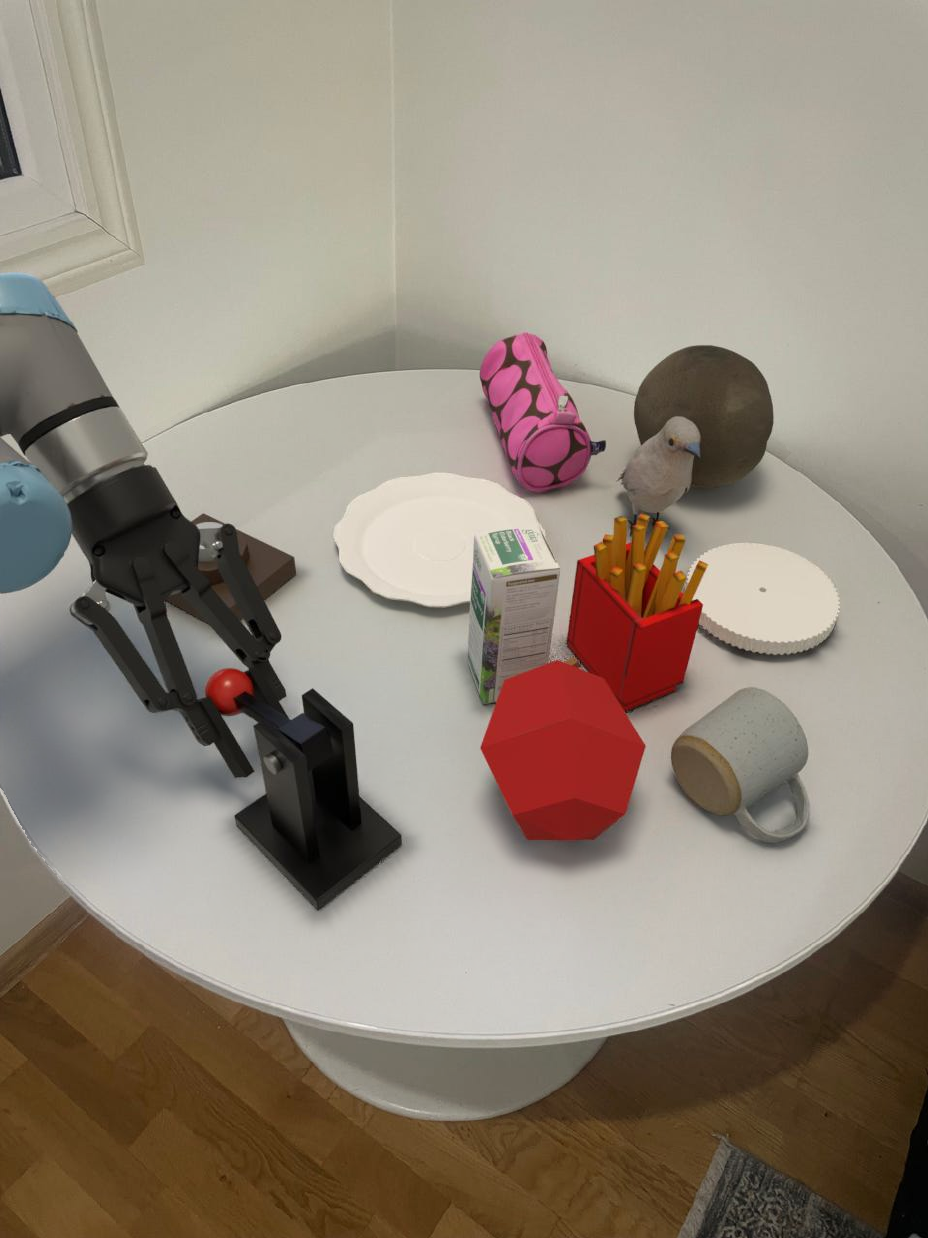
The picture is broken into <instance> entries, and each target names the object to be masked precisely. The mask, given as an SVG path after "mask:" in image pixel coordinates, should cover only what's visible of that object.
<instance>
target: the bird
mask: <svg viewBox="0 0 928 1238" xmlns="http://www.w3.org/2000/svg"><path fill="white" fill-rule="evenodd" d="M700 438H701V437H700V433H699V430H698V428H697V427H696V425H695V424H694V423H693V422H692V421H690V420H688V419H686V418H685V417H680V416H675V417H673V418H671V419H670V420H668V422H667V423H666V424H665V426H664V427H663V428H662V430H661V431H660V432H659V433H658V434H657V435H655V436H653V437H652V438H650V439H648V440H647V441H646V442H645V443H644V444H643V445H642V446H641V445H640V447H638V449H637V450H636V452H635V454H634V456H633V458H632V460H630V461H629V462H628V463H627V464H626V466H625V469H624V470H622V472H621V474H619V477H617V480H616V481H615V482H619V481H621V483H620V485H622V487H623V488H624V490H626V493H627V496H628V498H629V500H630V502H631V504H632V514H633V521H632V520H629V519H627V522H629V525H630V526H629V530H630V531H629V538H632V526H634V525H636V524H637V520H638V512H639V510H642V511H644V512H646V513H650V514H656V516H655V517H654V516H651V515H649V516H650V518H651V520H652V523H651V524H652V529H653V528H654V526H655V523H656V522H659V519H660V513H661V512H663V511H665V510H667V509H668V508H670V507H671V506H673V505H674V504H675V503H676V502H677V501H678V500H680V498H682V496H683V495H684V494H685V493H688V492H689V490H690V488H691V486H692V485H691V478H692V476H691V475H692V466H693V459H694V456H696V457H697V458H699V459H700V447H699V444H700ZM667 530H670V527H668V529H667ZM645 534H648V532H647V531H646V533H645Z"/></svg>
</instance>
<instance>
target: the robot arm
mask: <svg viewBox="0 0 928 1238" xmlns="http://www.w3.org/2000/svg"><path fill="white" fill-rule="evenodd" d="M78 333H79V332H78V329H77V327H76V326H75V324H74V323H73V322H72V321H71V319H70V318H69V316H68V315H67V314H66V312H65V310H64V308H62V306H61V304H60V303H59V301H58V300H57V298H56V297H55V296H54V295H53V293H52V292H51V291H50V289H49V288H48V287H47V285H46V284H45V283H44V282H43V281H42V280H41V279H40V278H39V277H36V276H34V275H33V274H29V273H25V272H19V271H18V272H17V271H16V272H15V271H13V272H12V271H11V272H3V273H0V594H1V595H2V594H11V593H14V592H19V591H22V590H25V589H27V588H30V587H32V586H34V585H36V584H38V583H39V582H40V581H42V580H43V579H44V578H46V577H48V576H49V575H50V574H51V573H52V572H53V571H54V569H55V568H56V567H58V565H59V563H60V561H61V559H63V558H64V555H65V552H66V551H67V550H68V547H69V546H70V543H71V539H72V537H73V538H74V541H76V543H77V545H78V547H79V548H80V550H81V551H82V553H83V555H84V557H85V558H86V560H87V561H88V564H89V568H90V580H91V581H92V583H91V584H90V586H89V587H88V588H87V589H86V590H85V591H84V593H83V594H82V595H81V596H79V597H78V598H77V599H76V600H75V601H74V602H72V603H71V604H70V607H69V613H70V615H71V617H72V618H74V619H75V620H77V622H79V623H81V624H82V625H83V626H85V627H86V628H88V629H89V630H91V631H92V632H93V633H94V635H95V636H96V638H97V640H99V642H100V643H101V645H102V647H103V648H104V649H105V651H106V652H107V654H108V655H109V656H110V658H111V660H112V661H113V662H114V664H115V665H116V667H117V668H118V669H119V671H120V673H121V674H122V675H123V677H124V678H125V680H126V681H127V683H128V684H129V685H130V687H131V688H132V690H133V691H134V693H135V694H136V696H137V697H138V699H139V700H140V701H141V703H142V704H143V705H144V707H145V709H146V710H147V711H148V712H149V713H151V714H158V713H163V712H168V711H176V712H178V713H180V715H181V716H182V718H183V720H184V722H185V723H186V724H187V726H188V728H189V730H190V731H191V733H192V735H193V736H194V738H195V740H196V742H197V743H198V744H200V745H201V746H203V747H209V746H211V745H215V747H216V749H217V751H218V752H219V754H220V755H221V757H222V759H223V761H224V762H225V764H226V766H227V767H228V769H229V770H230V772H231V774H232V776H233V777H234V779H241V778H248V777H249V776H251V775H252V774H254V773H255V772H256V771H255V768H254V767H253V765H252V764H251V762H250V761H249V759H248V757H247V756H246V754H245V752H244V751H243V749H242V747H241V745H240V744H239V742H238V740H237V739H236V737H235V736H234V734H233V732H232V730H231V729H230V727H229V725H228V724H227V722H226V720H225V719H224V716H222V715H221V714H220V712H219V710H218V709H217V707H216V705H215V704H214V702H213V700H212V699H211V697H210V696H207V697H205V696H204V697H202V698H198V693H197V691H196V689H195V686H194V683H193V680H192V678H191V675H190V672H189V669H188V668H187V665H186V662H185V659H184V656H183V654H182V652H181V648H180V647H179V643H178V641H177V638H176V635H175V633H174V630H173V627H172V625H171V622H170V620H169V617H168V610H167V609H168V608H167V605H166V603H165V599H166V598H167V597H168V596H170V595H174V594H178V593H180V594H181V596H182V597H183V598H184V599H185V600H186V601H188V602H190V603H191V604H192V605H193V606H194V608H195V609H196V610H197V611H198V612H199V613H200V614H201V616H202V617H203V618H204V619H205V620H206V621H207V623H206V624H208V625H209V626H210V627H211V629H212V630H213V631H214V632H215V634H216V635H217V636H218V637H219V638H220V639H221V640H222V641H223V643H224V644H225V645H226V646H227V647H228V648H229V650H230V651H231V652H232V653H233V655H235V656H236V658H237V659H238V660H239V661H240V662H241V664H243V665H244V666H245V667H247V670H245V671H243V672H244V673H245V674H246V675H247V676H248V677H249V678H250V680H251V681H252V684H253V687H254V697H255V698H257V699H259V700H260V701H262V702H263V703H265V704H266V705H268V706H270V707H271V708H273V709H274V710H276V711H277V712H279V713H281V714H282V715H284V716H285V717H287V718H289V719H290V717H289V716H288V715H287V712H286V710H285V709H284V707H283V706H282V703H281V702H280V701H282V700H283V699H285V698H286V697H287V690H286V688H285V686H284V685H283V683H282V681H281V679H280V678H279V676H278V674H277V672H276V671H275V670H274V667H273V666H272V664H271V662H270V657H271V652H272V650H274V648H275V646H276V645H278V644H279V643H280V642H281V640H282V633H281V631H280V628H279V627H278V625H277V623H276V621H275V619H274V618H273V615H272V613H271V612H270V609H269V607H268V606H267V604H266V601H265V600H264V599H263V597H262V596H261V594H260V592H259V590H258V588H257V586H256V584H255V582H254V580H253V578H252V576H251V574H250V572H249V570H248V568H247V566H246V564H245V562H244V560H243V559H242V557H241V555H240V553H239V547H238V540H237V533H236V529H237V528H236V526H234V525H233V524H231V523H225V524H224V525H223V526H222V527H220V528H206V529H198V527H197V526H196V525H195V524H194V523H193V522H191V521H192V520H189V518H187V517H186V516H185V515H184V514H183V513H182V511H181V509H180V507H179V505H178V503H177V501H176V499H175V497H174V496H173V494H172V493H171V491H170V489H169V487H168V485H167V484H166V482H165V480H164V479H163V477H162V475H161V474H160V472H159V470H158V469H157V467H155V466H152V464H151V465H150V464H145V463H146V461H147V459H148V456H149V455H148V454H149V452H148V451H147V449H146V448H145V445H144V444H143V443H142V441H141V440H140V438H139V436H138V435H137V433H136V431H135V430H134V428H133V426H132V425H131V423H130V422H129V420H128V418H127V417H126V414H125V413H124V411H123V410H122V408H121V407H120V406H119V404H118V402H117V400H116V399H115V397H114V395H113V394H112V392H111V390H110V389H109V387H108V385H107V384H106V381H105V379H104V378H103V376H102V374H101V373H100V371H99V369H98V367H97V365H96V363H95V362H94V360H93V359H92V356H91V355H90V353H89V351H88V350H87V347H86V346H85V344H84V342H83V341H82V339H81V337H80V335H79V334H78ZM7 435H10V436H11V437H12V439H13V440H14V441H15V443H16V444H17V445H18V447H19V450H20V451H21V452H22V455H21V454H20V452H18V451H17V450H15V449H14V447H12V446H11V445H10V444H9V443H8V442H6V440H5V439H3V438H2V437H4V436H7ZM200 545H202V546H203V547H204V548H205V549H206V552H207V554H208V555H210V556H211V557H214V558H215V562H216V565H217V567H218V569H219V572H220V573H221V575H222V577H223V579H224V581H225V583H226V585H227V587H228V589H229V591H230V593H231V595H232V597H233V599H234V601H235V603H236V604H237V606H238V608H239V610H240V612H241V614H242V616H243V618H242V619H243V620H244V622H245V624H246V626H247V627H248V628H247V627H246V626H245V625H244V624H243V622H242V621H241V620H239V619H238V618H237V617H236V616H235V614H234V613H233V612H232V611H231V610H230V609H229V607H228V606H227V605H226V604H225V603H224V601H223V600H222V599H221V598H220V597H219V596H218V594H217V593H216V592H215V591H214V590H213V588H212V587H211V584H210V582H209V580H208V579H207V578H206V577H205V576H204V574H203V573H202V572H201V571H200V570H199V568H198V561H199V549H200ZM106 593H108V594H110V595H112V596H114V597H116V598H118V599H120V600H123V601H125V602H127V603H129V604H131V605H133V607H134V611H135V612H136V615H137V618H138V621H139V622H140V623H141V625H142V626H143V630H144V631H145V635H146V637H147V640H148V642H149V645H150V647H151V650H152V653H153V655H154V659H155V660H156V663H157V666H158V669H159V672H160V674H161V676H162V679H163V682H164V684H165V688H166V690H167V691H166V690H165V689H164V687H163V686H162V684H161V683H160V681H159V680H158V678H157V677H156V676H155V674H154V672H153V671H152V670H151V668H150V667H149V665H148V664H147V662H146V660H145V659H144V658H143V656H142V655H141V654H140V652H139V651H138V649H137V647H136V646H135V644H134V643H133V642H132V640H131V639H130V638H129V636H128V634H127V633H126V632H125V630H124V628H123V627H122V625H121V624H120V623H119V621H118V620H117V619H116V618H115V616H113V615H112V613H111V612H110V610H111V603H110V601H109V600H108V599H107V597H106Z"/></svg>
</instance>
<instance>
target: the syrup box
mask: <svg viewBox="0 0 928 1238" xmlns="http://www.w3.org/2000/svg"><path fill="white" fill-rule="evenodd" d="M552 549H553V548H552V547H551V544H550V543H549V541H548V540H547V537H546V538H545V536H544V534H543V532H542V530H541V528H540V527H539V526H524V527H512V528H504V529H497V530H492V531H487V532H483V533H479V534H475V535H474V549H473V567H472V582H471V598H470V602H469V615H468V618H469V619H468V634H467V635H468V636H467V664H468V667H469V670H470V672H471V676H472V678H473V682H474V684H475V686H476V690H477V692H478V695H479V697H480V700H481V703H482V704H484V705H487V704H493V703H496V702H497V699H498V696H499V693H500V691H501V688H502V685H503V682H504V680H505V679H508V678H510V677H513V676H516V675H518V674H521V673H524V672H527V671H529V670H532V669H535V668H537V667H540V666H543V665H545V664H548V663H549V661H550V652H551V646H552V645H551V644H552V638H553V628H554V622H555V615H556V606H557V599H558V591H559V583H560V576H561V566H560V565H559V563H558V561H557V559H556V556H555V554H554V552H553V550H552Z"/></svg>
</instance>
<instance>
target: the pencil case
mask: <svg viewBox="0 0 928 1238" xmlns="http://www.w3.org/2000/svg"><path fill="white" fill-rule="evenodd" d="M479 381H480V384H481V389H482V392H483V395H484V396H485V398H486V400H487V404H488V406H489V407H488V408H489V409H490V411H491V414H492V419H493V422H494V424H495V426H496V428H497V432H498V435H499V439H500V443H501V446H502V448H503V449H504V452H505V455H506V458H507V459H506V460H507V461H508V463H509V466H510V468H511V472H512V473H513V475H514V476H515V477H516V479H517V481H518V483H519V484H520V486H522V488H524V489H526V490H527V491H531V492H533V493H534V492H535V493H548V492H552V491H555V490H558V489H561V488H563V487H566V486H568V485H570V484H573V483H574V482H575V481H576V480H578V479H579V478H580V477H582V475H583V474H584V473H585V471H586V470H587V468H588V465H589V463H590V461H591V457H592V456H598V454H600V453H602V452H603V453H604V452H605V450H606V448H607V440H605V439H603V440H598V441H593V440H592V439H591V436H590V434H589V432H588V430H587V429H586V427H585V424H584V423H583V422H582V421H581V419H580V416H579V411H578V409H577V405H576V404H575V401H574V398H572V396H571V394H570V393H569V392H568V390H566V389H565V387H564V386H563V385H562V384H561V383H560V381H559V380H558V378H557V376H556V375H555V373H554V371H553V370H552V367H551V362H550V360H549V357H548V350H547V346H546V343H545V342H544V341H543V339H541V338H540V337H539V336H537V335H536V334H533V333H529V332H522V333H518V334H517V333H516V334H514V335H512V336H509V337H505V338H502V339H500V340H499V341H496V343H494V344H493V345H492V346H491V347H490V348H489V350H488V351H487V352H486V354H485V356H484V357H483V360H482V362H481V365H480V369H479Z"/></svg>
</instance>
